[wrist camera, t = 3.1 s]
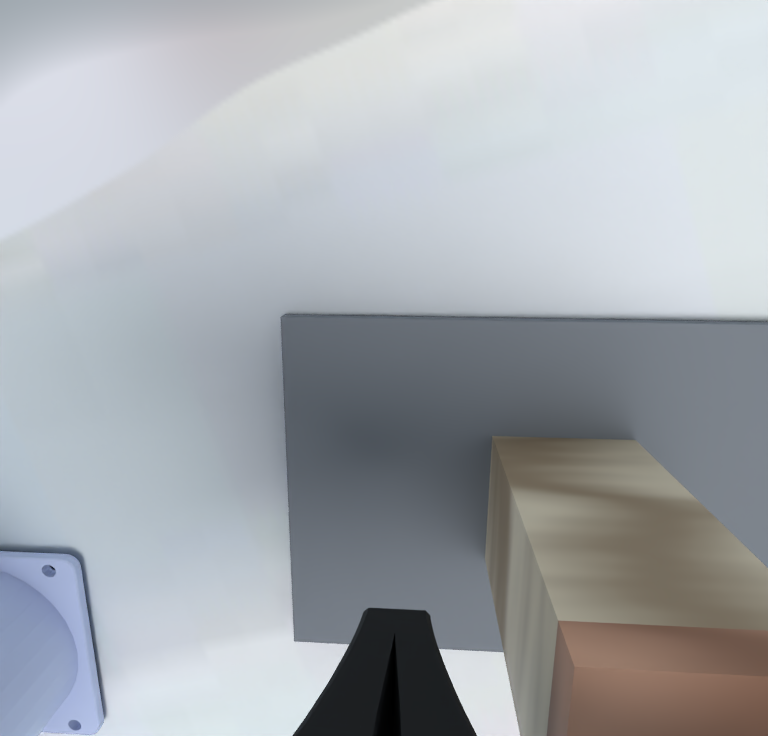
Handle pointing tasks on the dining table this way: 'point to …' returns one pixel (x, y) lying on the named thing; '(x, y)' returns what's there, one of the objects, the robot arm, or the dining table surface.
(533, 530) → the maple block
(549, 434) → the rubber mat
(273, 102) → the dining table surface
